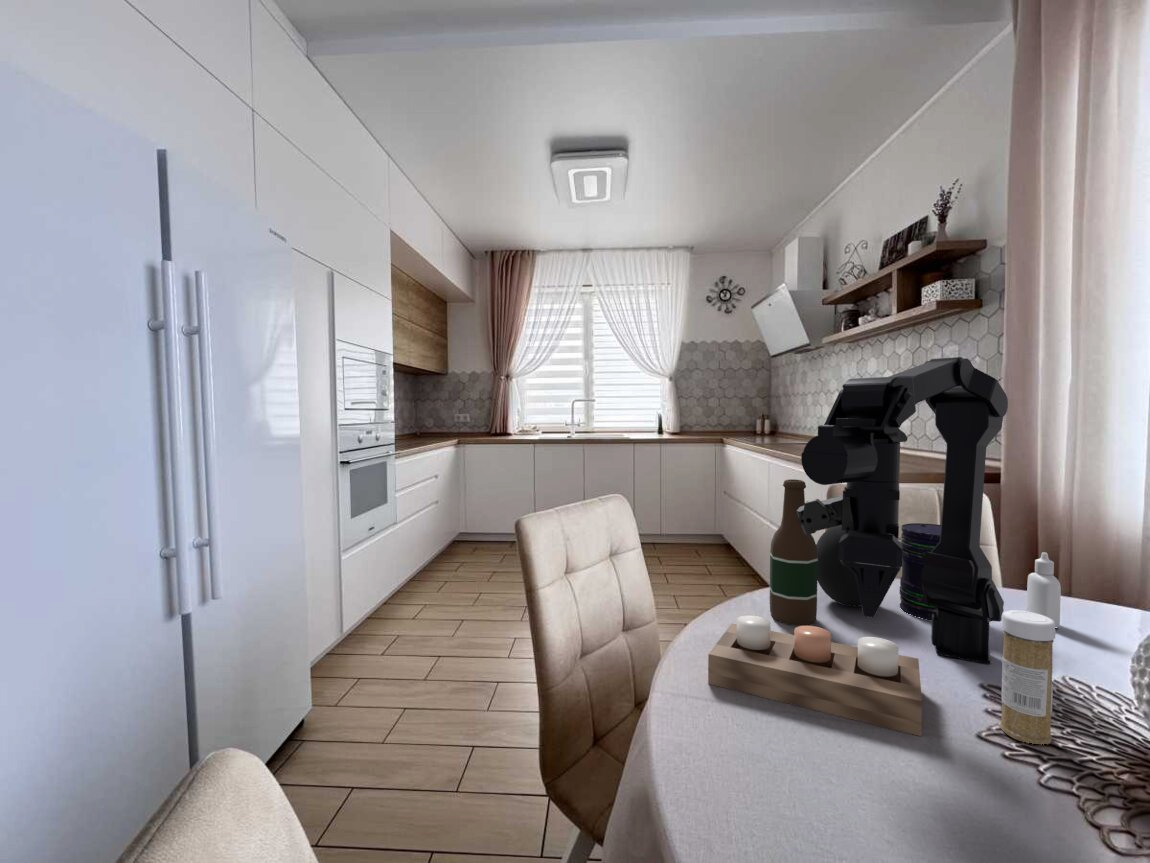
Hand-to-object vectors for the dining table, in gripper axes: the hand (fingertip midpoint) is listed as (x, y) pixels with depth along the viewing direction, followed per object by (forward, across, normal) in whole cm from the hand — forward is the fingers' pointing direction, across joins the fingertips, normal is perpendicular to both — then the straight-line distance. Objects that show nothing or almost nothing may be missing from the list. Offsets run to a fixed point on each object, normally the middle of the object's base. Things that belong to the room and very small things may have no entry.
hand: (869, 604), depth 69 cm
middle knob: (+8, 0, -6) cm, 10 cm away
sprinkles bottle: (+12, 0, +16) cm, 20 cm away
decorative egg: (+12, -36, -4) cm, 38 cm away
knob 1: (+8, 0, -14) cm, 16 cm away
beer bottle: (+12, -24, -12) cm, 30 cm away
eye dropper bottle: (+12, -42, +25) cm, 50 cm away
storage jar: (+12, -39, +9) cm, 42 cm away
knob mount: (+12, 0, -6) cm, 14 cm away
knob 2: (+8, 0, +1) cm, 8 cm away
